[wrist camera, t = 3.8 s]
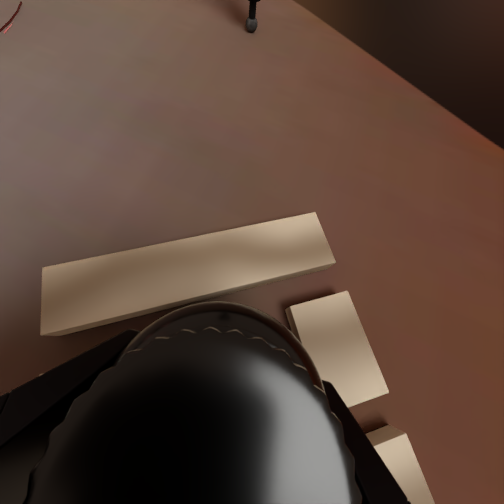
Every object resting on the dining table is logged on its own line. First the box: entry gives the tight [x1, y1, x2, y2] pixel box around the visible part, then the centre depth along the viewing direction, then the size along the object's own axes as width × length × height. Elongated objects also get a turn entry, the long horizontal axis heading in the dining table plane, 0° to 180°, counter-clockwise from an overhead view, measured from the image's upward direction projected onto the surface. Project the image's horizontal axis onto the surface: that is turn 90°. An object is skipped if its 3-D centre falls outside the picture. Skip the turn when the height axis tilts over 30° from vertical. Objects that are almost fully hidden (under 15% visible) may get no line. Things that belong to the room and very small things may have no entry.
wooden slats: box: [39, 212, 435, 504], centre depth 14 cm, size 18×18×2 cm
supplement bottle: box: [22, 301, 362, 504], centre depth 9 cm, size 7×7×12 cm
